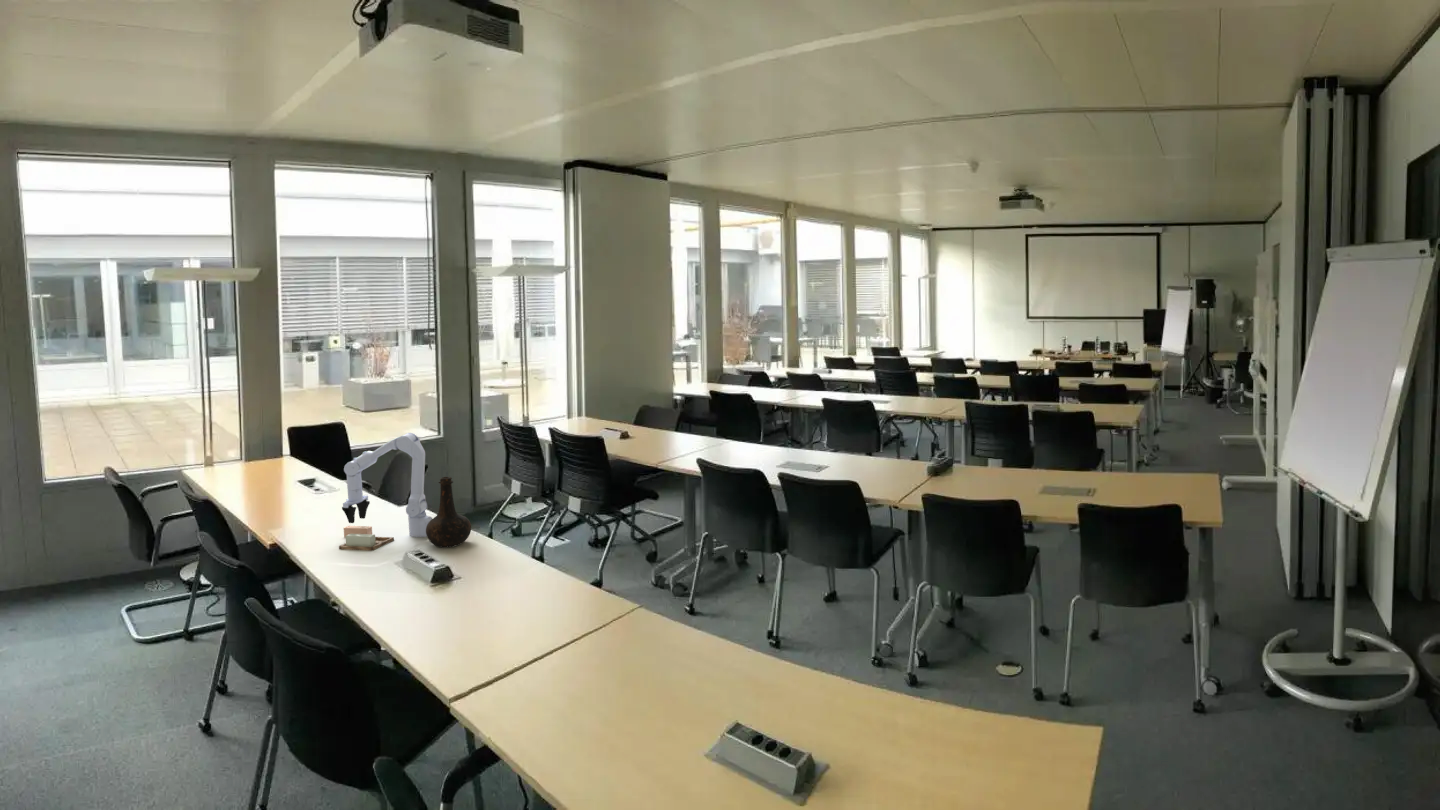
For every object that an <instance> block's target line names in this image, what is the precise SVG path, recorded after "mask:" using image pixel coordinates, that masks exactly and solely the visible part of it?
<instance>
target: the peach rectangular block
mask: <svg viewBox="0 0 1440 810" xmlns="http://www.w3.org/2000/svg"><path fill="white" fill-rule="evenodd" d="M349 534H373V526H369V525H368V526H367V525H366V526H364V525H347V526H345V527H343V537H344V538H346V537H345V536H346V535H349Z"/></svg>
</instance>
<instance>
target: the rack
mask: <svg viewBox="0 0 1440 810" xmlns="http://www.w3.org/2000/svg"><path fill="white" fill-rule="evenodd" d="M375 541H376V545H375V546H373V547H362V546H346V542H345V543H343V544H341V545H339V546H338V549H339V550H351V551H375V550H376V549H379V548H381V547H383V546H385V545H388V544H389V543H391V542H393V541H395V538H394V537H392V536H375Z"/></svg>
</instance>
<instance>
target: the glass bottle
mask: <svg viewBox="0 0 1440 810" xmlns="http://www.w3.org/2000/svg"><path fill="white" fill-rule="evenodd" d="M452 479H453V478H452V476H443V477H440V479H439V482H438V484H440V489H439V490H440V491H439V493H440V494H439V495H440V497H439V498H440V499H439V507H438V512H437V514H436V515H435V516H434V517H432V520H430V522H429V523H428V524H427V527H426V535H427V537H426V538H427V539H428V541H429V542H430V543H431V544H432V545H434V546H436V547H437V548H453V546H454V547H458V546H460V545H461V544H463V543H465V542H466V541H467V539H468V538H469V537H470V534H471V532H472V523H471V522H470V520H469V518H468V517H466V516H465V515H463V514H459V513H457V511H456V507H455V502H454V496H453V495H454V494H453V486H452V484H453V483H454V480H452Z"/></svg>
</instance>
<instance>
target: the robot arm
mask: <svg viewBox="0 0 1440 810" xmlns="http://www.w3.org/2000/svg"><path fill="white" fill-rule="evenodd" d="M391 450H397V451H398V450H399V451H401V452H404V453H405V454H408V455H409V457H411V458H412V460H411V475H410V476H411V481H410V496H409V498H408V503H407V505H406V507H405V513H406V514H407V517H408V531H409V534H408V535H409V537H411V538H420V537H421V538H428V537H427V535H426V527H427V524H428V523H429V522H430V520H432V519H433V517H432V516H429V515H427V512H426V510H427V509H428V502H427V501H426V495H425V491H424V489H425V467H426V466H425V465H426V451H425V448H424V447H423V445H422V443H421V441H420V437H418V436H417V434H415V433H413V432H406V433H405V434H402V435H400V436H397V437H395V438H393V439H391V440H389V441H387V442H385V443H384V444H382V445H381V446H380V447H378V448H377V449H375V450H373V451H371V450H368V451H367V450H365V451H363V452H362V454H361V455H359V456H358V457H353V459H352V460H351V461H348V462H347V463H346V464H345V465H344V466H343V467H344V468H343V472H344V473H345V475H346V486H347V487H346V489H347V499H345V500H346V501H344V502H343V503H342V506H341V510H342V511H343V512H344V515H345V516H346V518H347V522H348V523H349V524H354V523H355V517H356V516H355V514H356V510H358V515H359V519H362V520H363V519H366V516H367V515H366V514H367V510H368V507H369V505H370V504H371V503H370V500H369V496H368V495H363V494H364V493H363V481H362V480H363V479H362V472H363V470H364V471H365V470H366V469H367V468H369V467H371V466H372V465H374V464H376V463H377V461H378V459H379V457H381V456H383V455H385V454H386V453H388V452H390V451H391ZM354 505H355V506H354Z"/></svg>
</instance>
